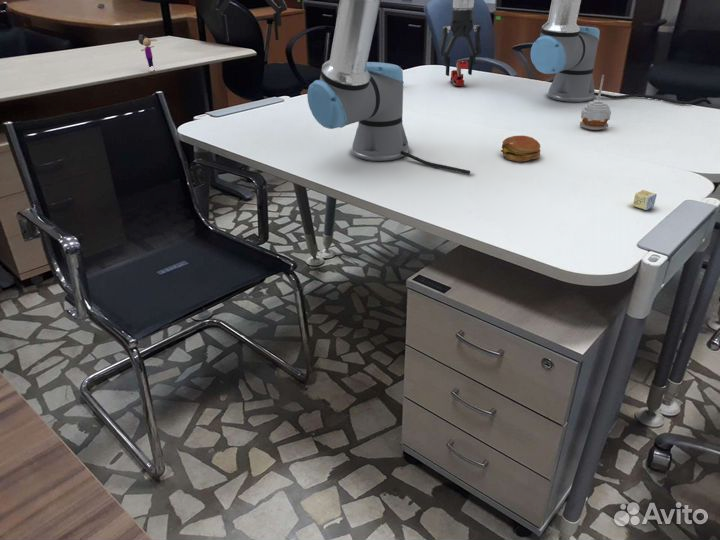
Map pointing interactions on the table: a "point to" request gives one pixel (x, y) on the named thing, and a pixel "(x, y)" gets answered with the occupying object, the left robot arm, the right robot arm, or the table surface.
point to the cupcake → (596, 113)
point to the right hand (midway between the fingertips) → (458, 74)
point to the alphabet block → (644, 200)
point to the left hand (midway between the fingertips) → (252, 40)
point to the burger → (520, 148)
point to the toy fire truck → (458, 73)
